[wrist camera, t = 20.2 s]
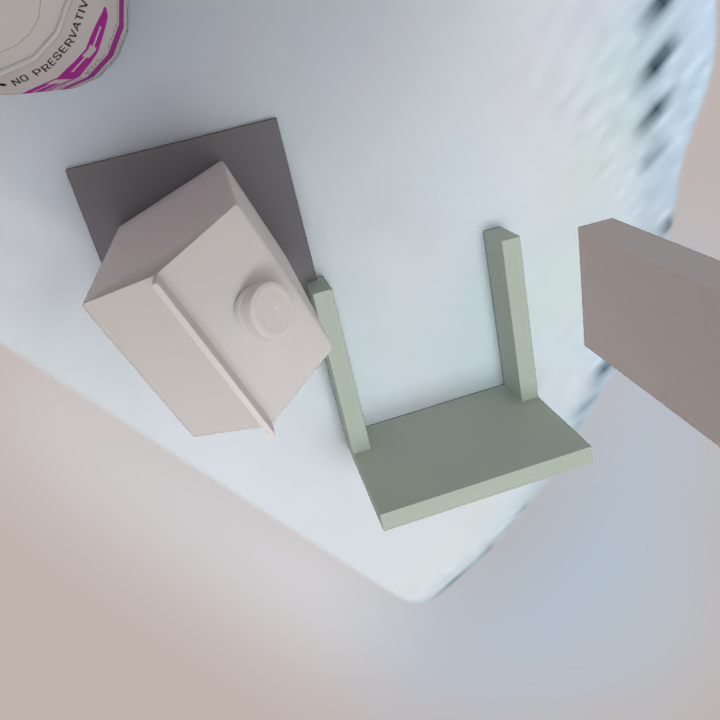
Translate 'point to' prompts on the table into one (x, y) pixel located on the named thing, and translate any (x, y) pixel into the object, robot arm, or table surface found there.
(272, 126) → the mat
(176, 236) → the milk carton
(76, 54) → the supplement can
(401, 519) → the rack
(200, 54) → the table surface
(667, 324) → the robot arm
